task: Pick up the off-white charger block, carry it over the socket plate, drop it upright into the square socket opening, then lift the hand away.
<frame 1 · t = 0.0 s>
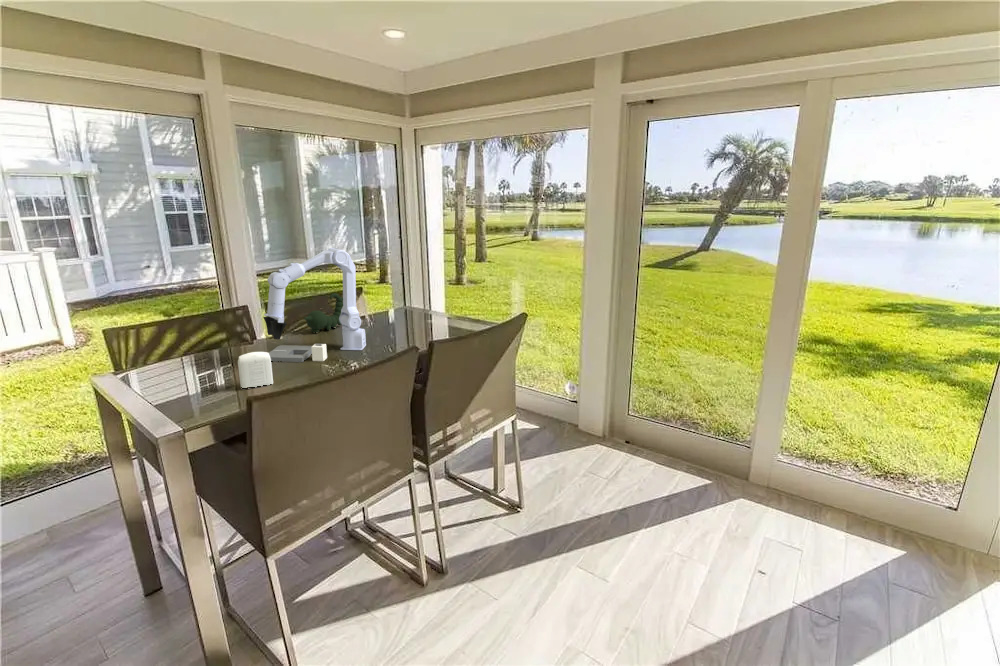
hand: (273, 336, 183), 11 cm above the table, tool pointing down, fingers open, 7 cm apart
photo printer: (257, 386, 163), on the table
socket plate: (290, 355, 194), on the table
charger block: (319, 359, 191), on the table
toy figurine: (325, 330, 232), on the table
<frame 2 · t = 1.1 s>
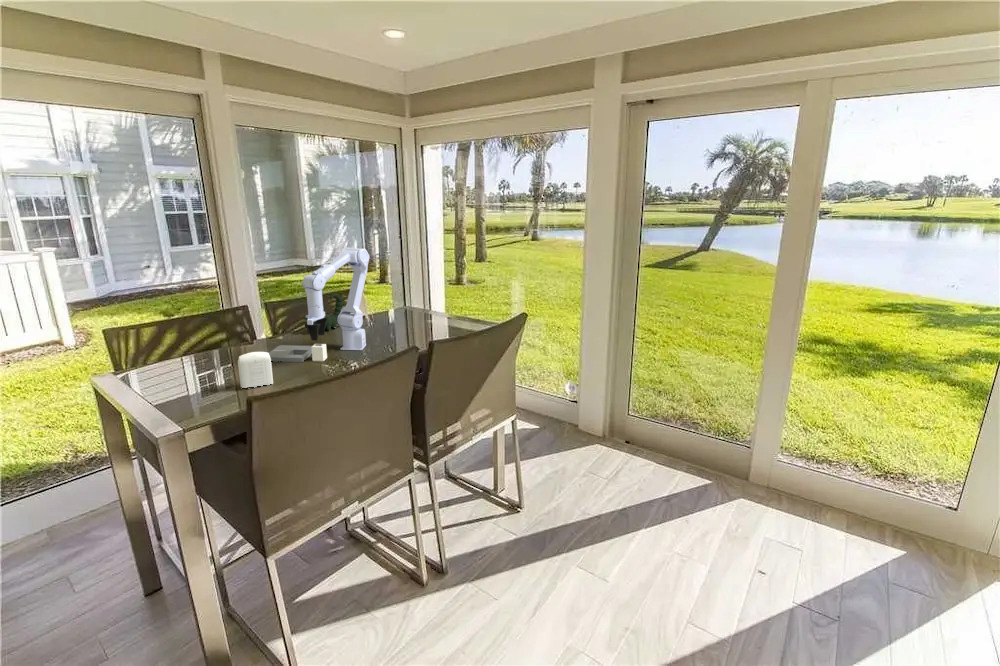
hand: (318, 337, 188), 9 cm above the table, tool pointing down, fingers open, 7 cm apart
nothing on the table moved.
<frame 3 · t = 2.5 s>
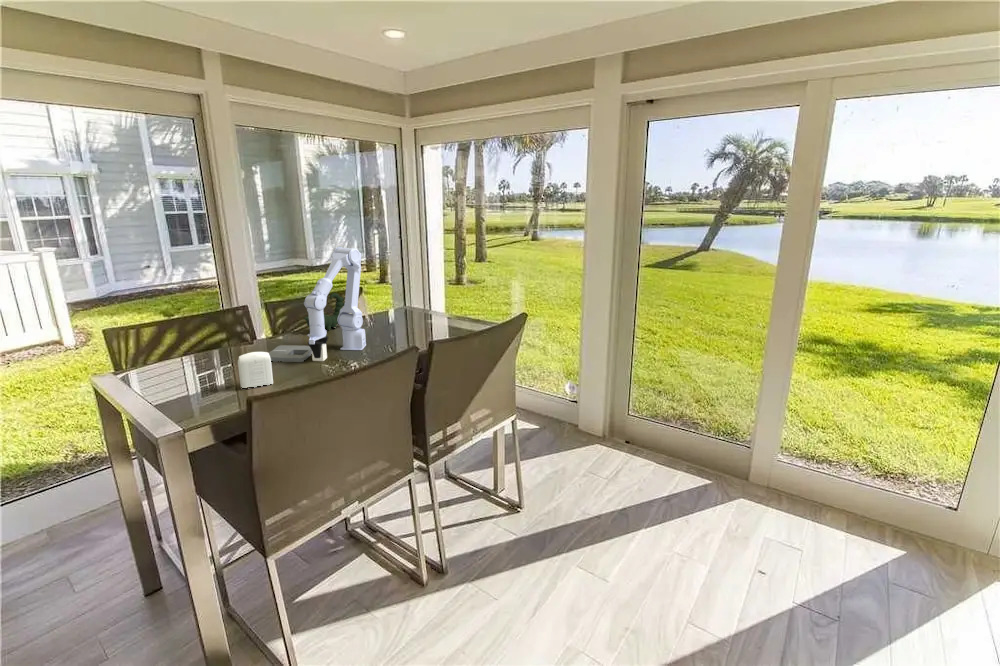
hand: (319, 355, 190), 1 cm above the table, tool pointing down, fingers closed on charger block, 4 cm apart
charger block: (319, 359, 191), on the table, touching gripper
everything else where it was.
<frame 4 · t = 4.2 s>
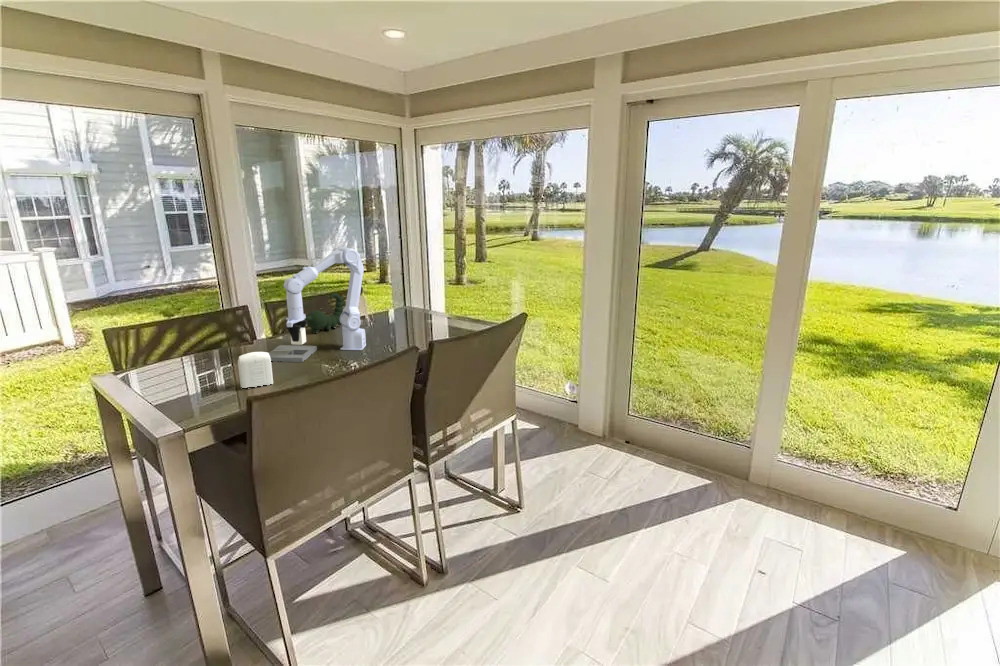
hand: (298, 339, 191), 7 cm above the table, tool pointing down, fingers closed on charger block, 4 cm apart
charger block: (298, 342, 192), point 6 cm above the table, touching gripper
everything else where it was.
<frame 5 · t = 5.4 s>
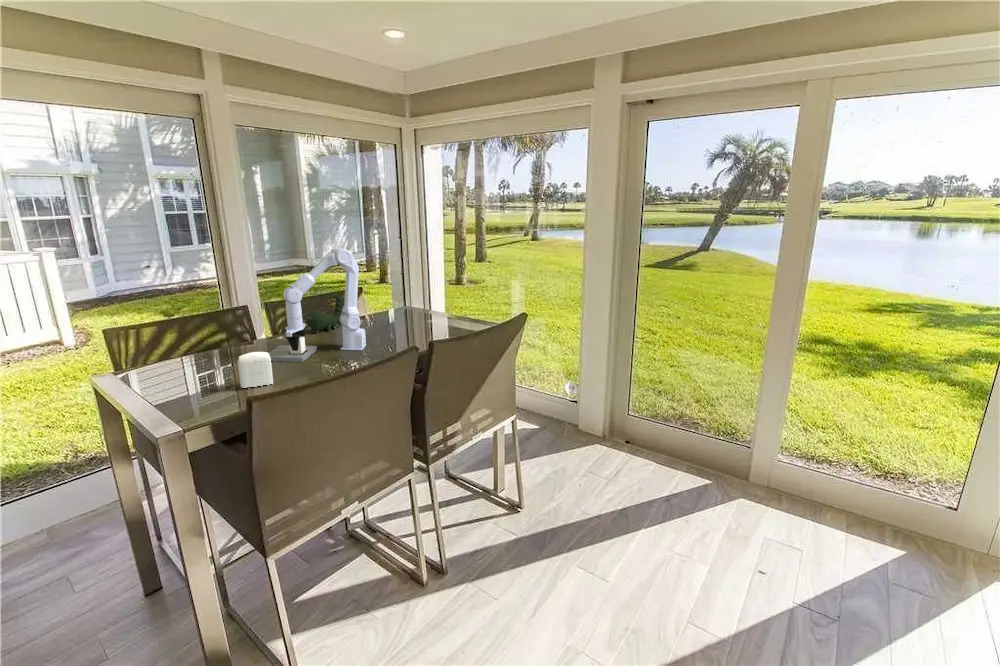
hand: (297, 348, 193), 3 cm above the table, tool pointing down, fingers closed on charger block, 4 cm apart
charger block: (298, 351, 193), point 2 cm above the table, touching gripper
everything else where it was.
when the fingers open (3 cm above the table, at t = 6.1 s): charger block drops 2 cm, resting in socket plate.
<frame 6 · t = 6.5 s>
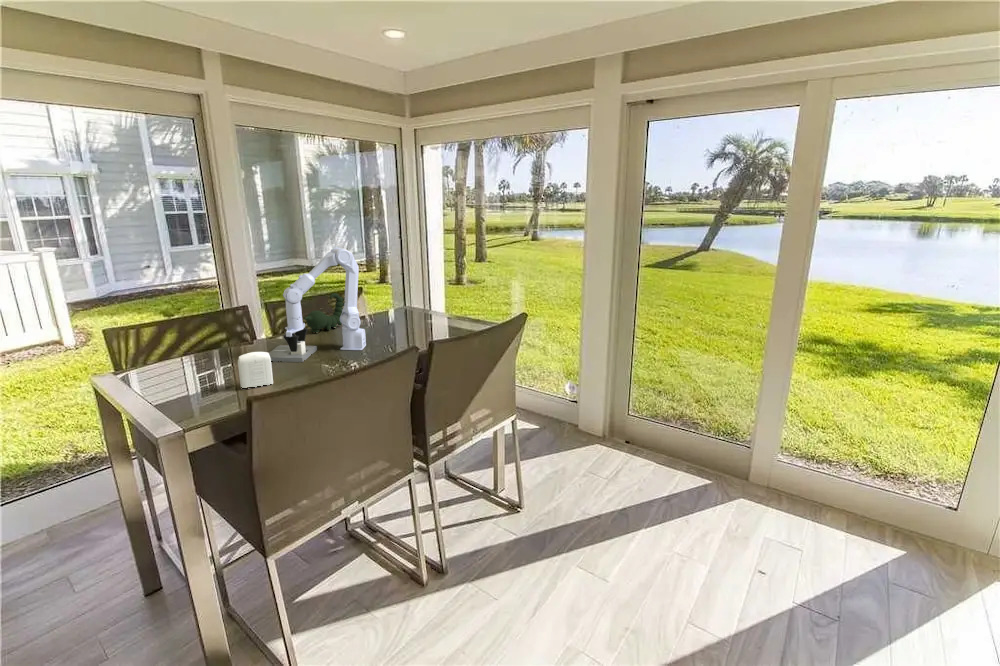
hand: (297, 348, 193), 3 cm above the table, tool pointing down, fingers open, 7 cm apart
charger block: (298, 356, 194), resting in socket plate
everything else where it was.
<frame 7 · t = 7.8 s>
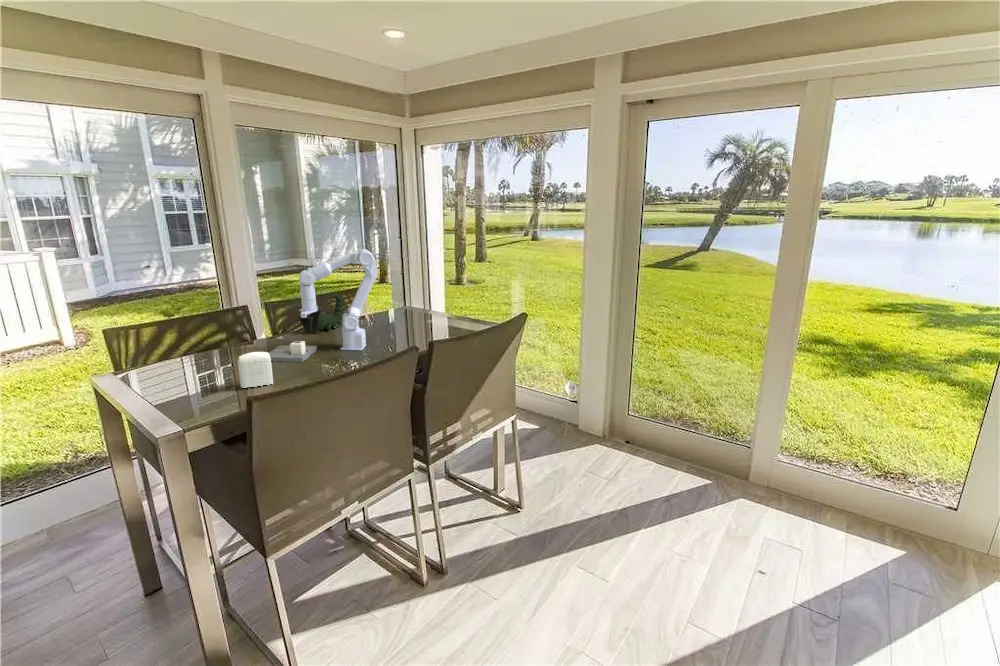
hand: (311, 330, 198), 9 cm above the table, tool pointing down, fingers open, 7 cm apart
nothing on the table moved.
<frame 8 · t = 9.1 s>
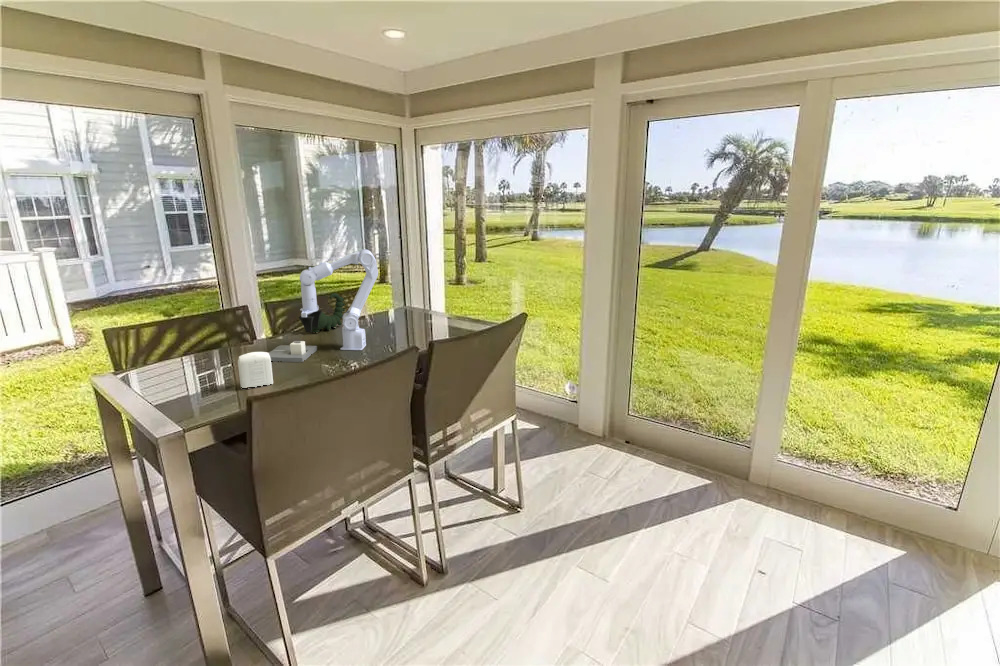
hand: (312, 329, 199), 9 cm above the table, tool pointing down, fingers open, 7 cm apart
nothing on the table moved.
at the end: charger block 0.1 cm from the target spot on the socket plate, point 0.0 cm above the socket plate's base; charger block tilted 0°; the gripper is holding nothing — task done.
